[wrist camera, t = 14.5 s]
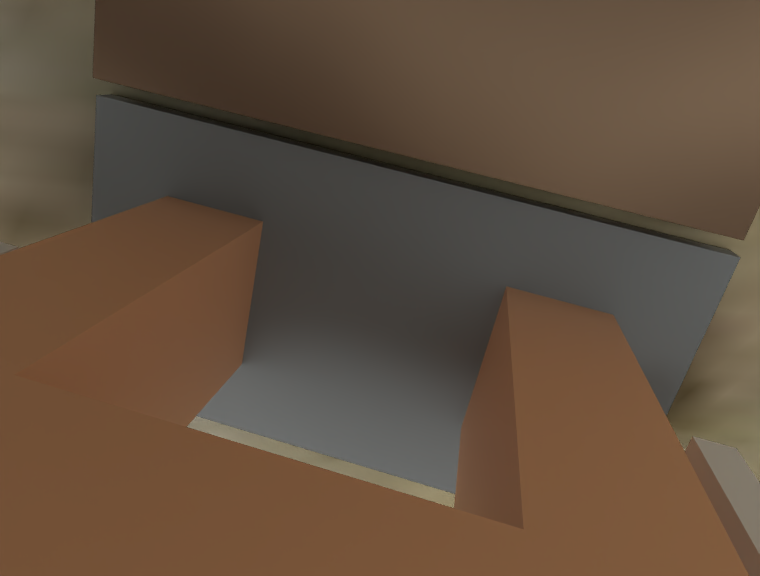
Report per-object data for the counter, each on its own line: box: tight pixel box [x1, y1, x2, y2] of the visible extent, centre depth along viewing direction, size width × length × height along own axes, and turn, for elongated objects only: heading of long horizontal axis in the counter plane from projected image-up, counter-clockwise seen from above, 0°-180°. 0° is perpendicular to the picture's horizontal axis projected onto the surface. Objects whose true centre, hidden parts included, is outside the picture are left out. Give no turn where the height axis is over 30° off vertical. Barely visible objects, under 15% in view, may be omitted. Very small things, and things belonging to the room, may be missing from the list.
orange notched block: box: [0, 196, 749, 576], centre depth 10 cm, size 11×4×10 cm, turn 77°
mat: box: [91, 94, 740, 494], centre depth 15 cm, size 8×15×1 cm, turn 77°
